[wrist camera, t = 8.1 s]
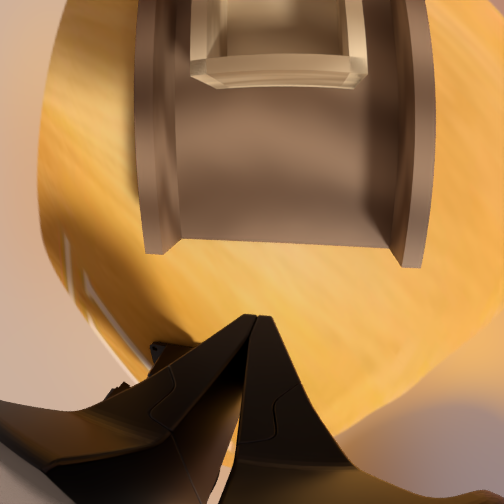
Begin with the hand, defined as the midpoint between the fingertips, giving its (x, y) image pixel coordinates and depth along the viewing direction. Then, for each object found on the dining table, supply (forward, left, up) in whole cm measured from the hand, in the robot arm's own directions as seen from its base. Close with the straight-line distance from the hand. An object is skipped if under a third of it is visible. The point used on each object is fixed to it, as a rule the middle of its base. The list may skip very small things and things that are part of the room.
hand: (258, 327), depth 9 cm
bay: (+8, 0, -12) cm, 14 cm away
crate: (+12, 0, -11) cm, 16 cm away
